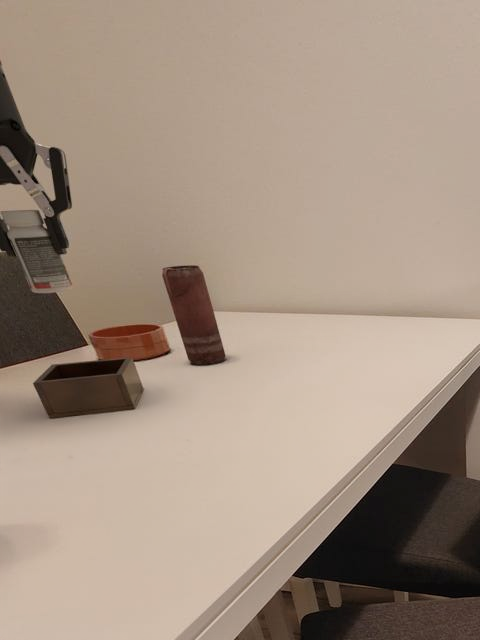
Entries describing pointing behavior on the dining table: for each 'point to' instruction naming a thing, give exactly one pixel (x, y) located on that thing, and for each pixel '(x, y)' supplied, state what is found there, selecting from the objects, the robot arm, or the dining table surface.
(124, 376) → the holder
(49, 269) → the pill bottle
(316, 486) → the dining table surface
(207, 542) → the dining table surface
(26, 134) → the robot arm
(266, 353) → the dining table surface
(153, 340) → the bowl
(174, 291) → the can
